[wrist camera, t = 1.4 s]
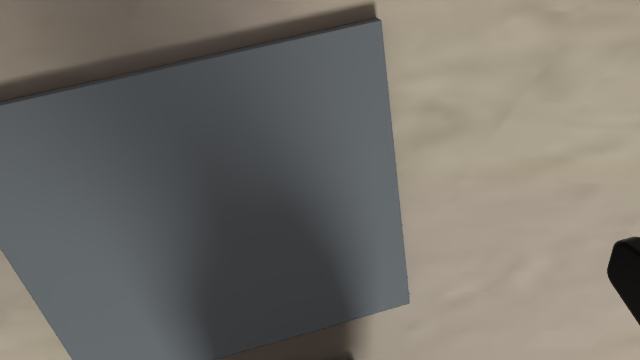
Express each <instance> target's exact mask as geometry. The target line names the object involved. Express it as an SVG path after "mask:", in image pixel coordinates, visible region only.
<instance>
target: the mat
mask: <svg viewBox="0 0 640 360" xmlns="http://www.w3.org/2000/svg"><path fill="white" fill-rule="evenodd" d="M0 249H1V250H2V252H3V253H4V255H5V256H6V258H7V259H8V261H9V263H10V264H11V266H12V267H13V269H14V270H15V272H16V273H17V275H18V276H19V278H20V280H21V281H22V283H23V284H24V286H25V287H26V289H27V290H28V292H29V293H30V295H31V296H32V298H33V300H34V301H35V303H36V304H37V306H38V307H39V309H40V310H41V312H42V313H43V315H44V317H45V318H46V320H47V321H48V323H49V324H50V326H51V327H52V329H53V330H54V332H55V334H56V335H57V337H58V338H59V340H60V341H61V343H62V344H63V346H64V347H65V349H66V351H67V352H68V354H69V355H70V357H71V358H72V360H215V359H218V358H222V357H225V356H229V355H232V354H236V353H239V352H243V351H246V350H250V349H253V348H257V347H260V346H264V345H267V344H271V343H274V342H278V341H281V340H284V339H288V338H291V337H295V336H298V335H302V334H305V333H309V332H312V331H316V330H319V329H323V328H326V327H330V326H333V325H337V324H340V323H343V322H347V321H350V320H354V319H357V318H361V317H364V316H368V315H371V314H375V313H378V312H382V311H385V310H389V309H392V308H396V307H399V306H402V305H406V304H409V303H410V300H409V290H408V280H407V270H406V260H405V251H404V241H403V231H402V221H401V211H400V201H399V191H398V181H397V172H396V162H395V152H394V142H393V132H392V122H391V112H390V102H389V93H388V83H387V73H386V63H385V53H384V43H383V33H382V23H381V20H380V19H378V18H374V19H370V20H366V21H361V22H357V23H352V24H348V25H343V26H339V27H334V28H330V29H325V30H321V31H316V32H312V33H307V34H303V35H298V36H294V37H289V38H285V39H280V40H276V41H271V42H267V43H263V44H258V45H254V46H249V47H245V48H240V49H236V50H231V51H227V52H222V53H218V54H213V55H209V56H204V57H200V58H195V59H191V60H186V61H182V62H177V63H173V64H168V65H164V66H160V67H155V68H151V69H146V70H142V71H137V72H133V73H128V74H124V75H119V76H115V77H110V78H106V79H101V80H97V81H92V82H88V83H83V84H79V85H74V86H70V87H65V88H61V89H57V90H52V91H48V92H43V93H39V94H34V95H30V96H25V97H21V98H16V99H12V100H7V101H3V102H0Z"/></svg>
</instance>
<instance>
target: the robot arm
mask: <svg viewBox="0 0 640 360" xmlns="http://www.w3.org/2000/svg"><path fill="white" fill-rule="evenodd" d="M607 274H608V277H609V280H610V282H611V283H612V285H613V286H614V288H615V289H616V291H617V292H618V294H619V295H620V297H621V298H622V300H623V301H624V303H625V304H626V306H627V307H628V309H629V310H630V312H631V313H632V315H633V316H634V317H635V319H636V320H637V322H638V323H639V325H640V237H631V238H627V239H623V240H620V241H617V242H616V243H615V244H614V246H613V250H612V253H611V257H610V261H609V264H608V268H607Z"/></svg>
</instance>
